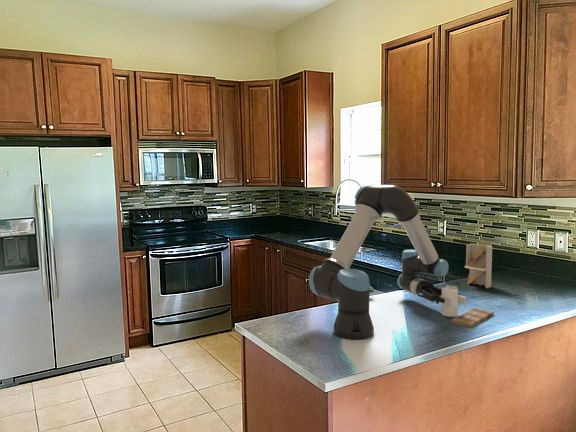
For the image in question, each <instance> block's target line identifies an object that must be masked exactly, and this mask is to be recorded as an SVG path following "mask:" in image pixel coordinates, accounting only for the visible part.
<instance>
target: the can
mask: <svg viewBox="0 0 576 432" xmlns="http://www.w3.org/2000/svg"><path fill="white" fill-rule="evenodd" d="M441 289H442V292H441V296H444V297H447V298H449V299H452V306H448V305H446V304H443V303H441V302H440V306H441V307H440V313H441V314H440V315H442V316H443V317H447V318H457V317H458V316H459V315H458V313H459V311H458V310H459V309H458V308H459V307H458V305H459V302H458V293H459V290H458V286H456V285H455V284H444V285H442V288H441Z"/></svg>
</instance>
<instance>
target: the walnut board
mask: <svg viewBox="0 0 576 432" xmlns="http://www.w3.org/2000/svg"><path fill="white" fill-rule="evenodd" d="M492 316H494V311H491V310H487V309H486V310H485V309H481V308H477V307H474V308H472V309H470V310H468V311H466V312H464V313H462V314H460V315H457V316H456V317H454V318H453V319H451V322H450V323H451V324H453V325H458V326H462V327H467V328H470V329H472V328H473V327H475V326H477V325H478V324H480V323H483V322H484V321H486V320H487V319H488V318H490V317H492Z"/></svg>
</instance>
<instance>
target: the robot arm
mask: <svg viewBox="0 0 576 432" xmlns="http://www.w3.org/2000/svg"><path fill="white" fill-rule="evenodd" d="M356 191H357V192H355V196H354V205H355V206H354V210H355V213H354V214H353V217H352V219H351V220H350V222H349V224H348V225H347V227H346V229H345V230H344V233H343V234H342V236H341V238H340V239H339V241H338V243H337V245H336V247H335V249H334V251H333V252H332V254H331V255H330V257H329V258H325V259H324V260H323V262H322V264H321V265H318V266H315V267H313V269H311V271H310V274H309V277H308V283H309V287H310V288H309V289H310V291H311V292H312V293H313V294H314V295H316V296H318V297H320V298H323V299H324V298H325V299H328V300H331V301H335V302H337V314H336V318H335V320H334V324H333V325H332V327H333V329H332V330H333V334H334V335H335V336H337V337H338V338H342V339H346V340H364V339H365V340H366V339H368V338H371V337H373V336H374V335H375V334H374V333H375V327H374V324H373V321H372V318H371V317H372V316H371V314H370V286H371V284H370V277H369V275H368V274H367V273H366V272H364V271H363V270H360V269H356V268H350V267H351V265H352V263H353V261H354V259H355V258H356V256H357V254H358V252H359V251H360V249H361V247H362V245H363V243H364V241H365V239H366V238H367V236H368V235H369V232H370V231H371V228H372V226H373V224H374V223H375V222H378V221H379V220H380V219H381V218H382V216H383V214H391V215H392V216H394V217H395V219H396V220H397V221H398V222H399V223H401V225H402V227H403V229H404V230H405V233H406V234H407V237H408V239H409V240H410V243H411V245H412V246H413V248H414V249H404V250H402V255H401V274H400V275H399V276H398V278H397V281H396V283H397V286H398V287H399V288H400V289H402V290H403V291H406V292H409V293H411V294H414V295H417V297H420V298H423V299H425V300H427V301H429V302H431V303H434V302H435V304H441V303H443V304H446V305H448V306H452V299H449V298H447V297H444V296H441V292H442V288H439V287H437V286H435V285H434V283H432V282H431V281H428V280H425V279H423V278H419V273H421V274H426V275H430V276H434V277H444V276H446V275H447V274H448V272H449V267H450V266H449V263H448V261H447V260H446V259H443V258H440V257H439V255H438V252H437V251H436V248H435V246H434V244H433V243H432V240H431V238H430V237H429V234H428V231H427V230H426V228H425V226H424V224H423V221H422V220H421V218H420V216H419V212H420V211H419V207H418V205H417V204H416V203H415V200H413V198H412V197H411V195H409V193H407V192H406V191H405V190H404V189H403V188H401V187H400V186H397V185H395V184H394V185H393V184H390V185H389V184H372V183H371V184H365V185H363V186H361V187H360V188H359V189H358V190H356ZM459 303H460V304H462V305H467V297H465V296H463V295H460V292H458V304H459Z"/></svg>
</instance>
